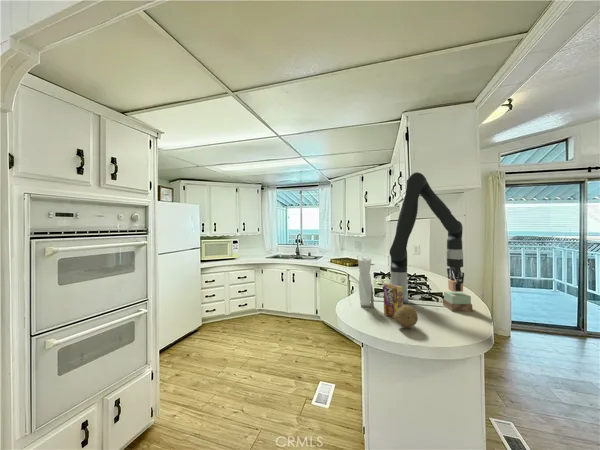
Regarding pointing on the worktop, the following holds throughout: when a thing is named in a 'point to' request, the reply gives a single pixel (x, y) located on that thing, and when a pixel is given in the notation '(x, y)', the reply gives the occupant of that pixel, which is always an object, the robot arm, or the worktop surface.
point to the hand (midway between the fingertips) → (455, 289)
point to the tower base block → (457, 306)
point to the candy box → (392, 299)
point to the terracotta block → (453, 286)
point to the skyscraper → (365, 283)
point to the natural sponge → (406, 316)
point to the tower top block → (457, 298)
